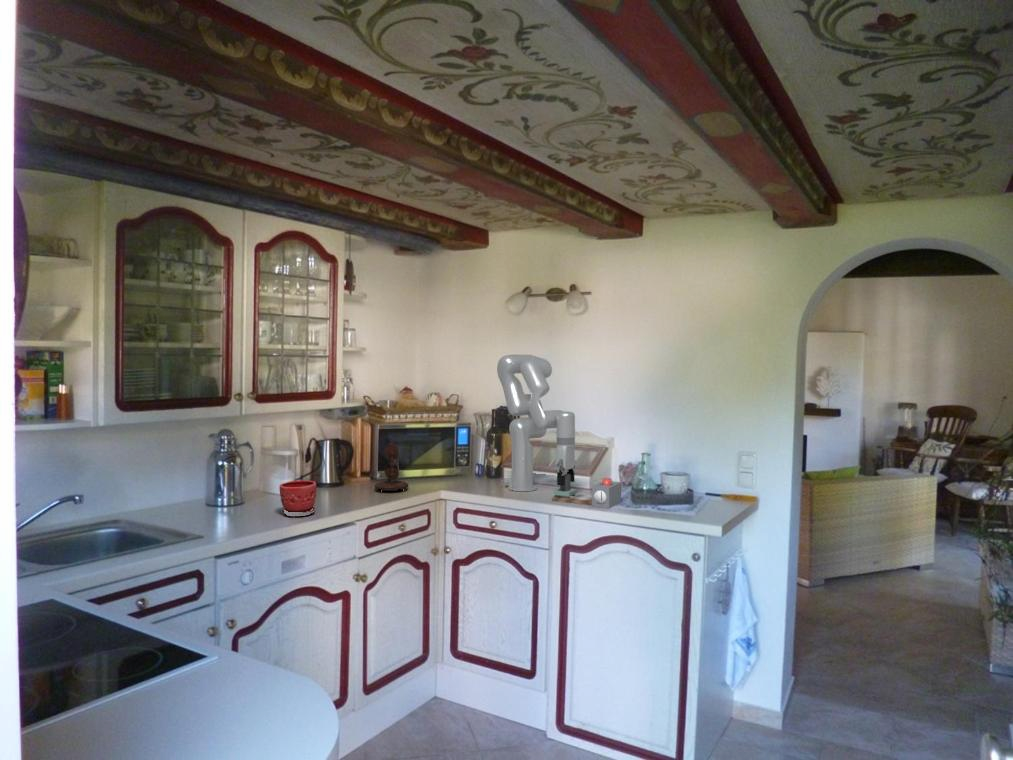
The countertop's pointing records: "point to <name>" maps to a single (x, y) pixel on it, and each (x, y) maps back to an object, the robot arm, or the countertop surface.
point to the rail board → (574, 499)
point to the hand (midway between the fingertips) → (565, 483)
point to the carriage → (565, 487)
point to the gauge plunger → (606, 481)
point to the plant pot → (298, 495)
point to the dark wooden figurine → (391, 471)
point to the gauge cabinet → (606, 495)
